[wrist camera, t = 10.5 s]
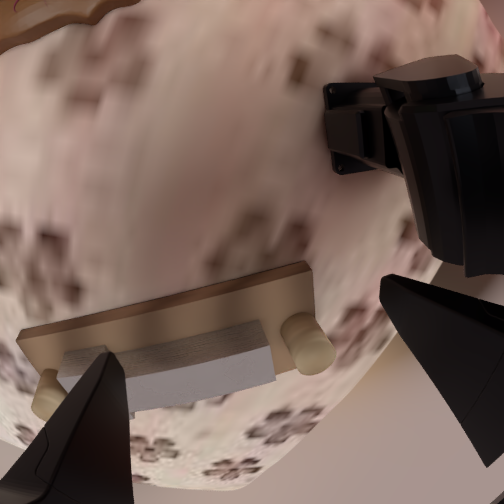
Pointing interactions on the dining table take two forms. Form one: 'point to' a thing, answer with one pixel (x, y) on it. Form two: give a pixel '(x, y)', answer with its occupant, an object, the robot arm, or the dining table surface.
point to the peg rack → (190, 327)
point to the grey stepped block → (184, 367)
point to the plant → (48, 17)
